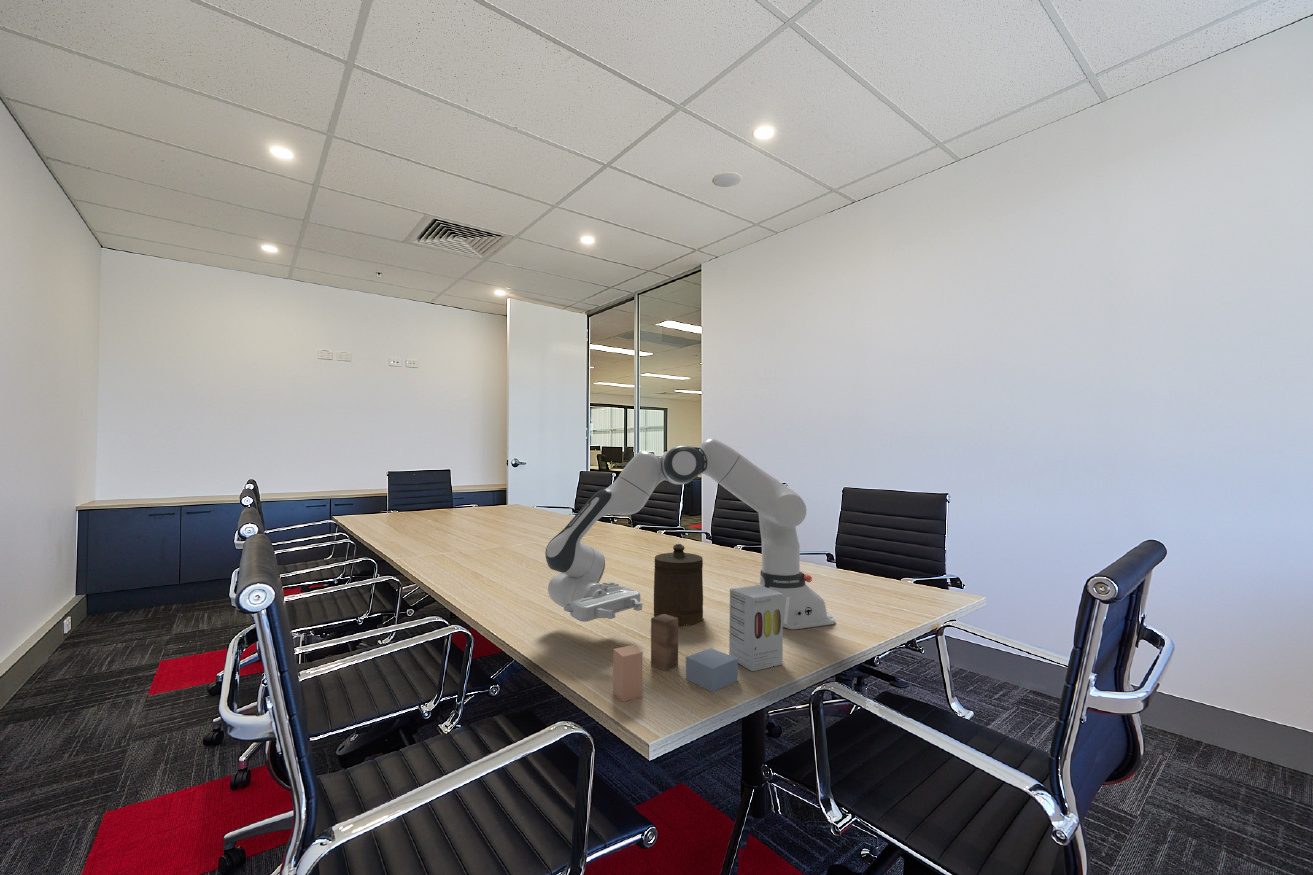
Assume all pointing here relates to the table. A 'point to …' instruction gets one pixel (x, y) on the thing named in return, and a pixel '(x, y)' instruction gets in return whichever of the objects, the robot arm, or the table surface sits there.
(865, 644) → the table surface
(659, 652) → the walnut post
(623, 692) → the terracotta post
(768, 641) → the supplement box
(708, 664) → the slate block
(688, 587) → the wooden container
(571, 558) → the robot arm
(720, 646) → the table surface
